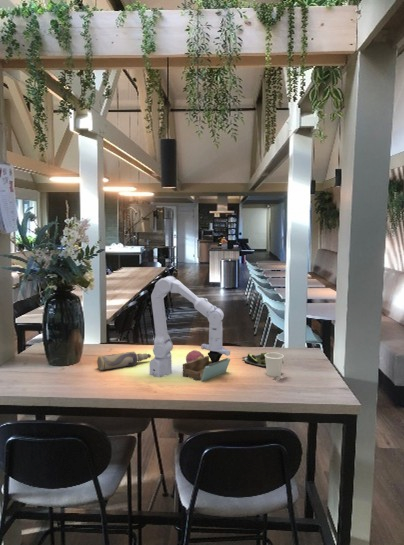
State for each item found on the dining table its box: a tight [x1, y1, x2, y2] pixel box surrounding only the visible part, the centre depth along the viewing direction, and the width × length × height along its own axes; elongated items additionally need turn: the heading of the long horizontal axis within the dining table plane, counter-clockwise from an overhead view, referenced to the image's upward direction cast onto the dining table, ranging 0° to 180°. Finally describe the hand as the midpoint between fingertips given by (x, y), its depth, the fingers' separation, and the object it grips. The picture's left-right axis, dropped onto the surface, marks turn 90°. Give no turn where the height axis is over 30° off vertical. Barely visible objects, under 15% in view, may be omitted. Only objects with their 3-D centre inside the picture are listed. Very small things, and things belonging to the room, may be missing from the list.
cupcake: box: [185, 349, 205, 363], centre depth 201 cm, size 9×8×12 cm
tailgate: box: [200, 357, 231, 382], centre depth 187 cm, size 16×1×8 cm, turn 138°
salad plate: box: [241, 352, 267, 369], centre depth 213 cm, size 19×18×5 cm
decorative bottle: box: [96, 351, 152, 371], centre depth 207 cm, size 26×8×7 cm, turn 119°
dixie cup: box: [264, 352, 285, 381], centre depth 190 cm, size 8×8×10 cm
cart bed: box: [182, 355, 212, 382], centre depth 191 cm, size 18×10×6 cm, turn 138°
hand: (215, 368), depth 187 cm, fingers closed, pressing on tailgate
